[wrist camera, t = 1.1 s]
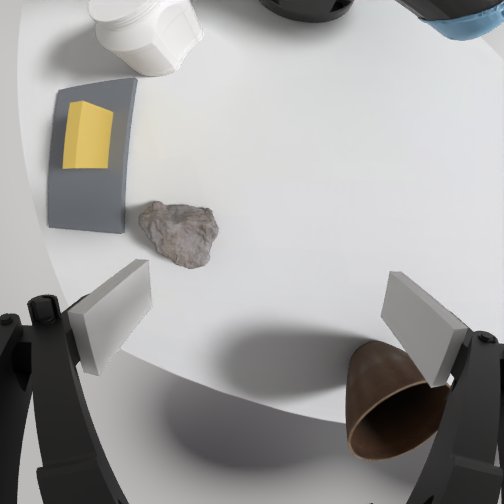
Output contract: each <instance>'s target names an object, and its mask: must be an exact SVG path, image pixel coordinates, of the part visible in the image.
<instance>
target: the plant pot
mask: <svg viewBox="0 0 504 504" xmlns="http://www.w3.org/2000/svg"><path fill="white" fill-rule="evenodd" d="M450 387H451V386H450V385H449V384H448V383H447V382H446V384H445V385H443V386H438V387H433V388H431V387H430V385H429V384H428V382H427V381H426V379H425V378H424V376H423V375H422V374H421V372H420V371H419V369H418V368H417V366H416V365H415V363H414V362H413V360H412V359H411V358H410V356H409V355H408V353H406V352H404V351H403V350H401V349H399V348H396V347H394V346H392V345H389V344H387V343H384V342H381V341H373V342H369V343H366V344H364V345H362V346H361V347H360V348H359V349H357V350H356V351H355V353H354V354H353V356H352V358H351V360H350V364H349V369H348V376H347V384H346V406H345V408H346V429H347V440H348V447H349V450H350V452H351V453H352V454H353V455H354V456H356V457H358V458H360V459H363V460H368V461H379V460H386V459H391V458H394V457H397V456H400V455H403V454H405V453H407V452H409V451H411V450H413V449H415V448H417V447H418V446H420V445H421V444H423V443H424V442H426V441H427V440H428V439H429V438H431V437H432V436H433V435H434V434H435V433H436V432H437V431H438V428H439V425H440V422H441V419H442V416H443V413H444V410H445V406H446V403H447V400H444V399H445V397H446V395H447V393H448V391H449V389H450Z"/></svg>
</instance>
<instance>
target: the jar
mask: <svg viewBox="0 0 504 504" xmlns="http://www.w3.org/2000/svg"><path fill="white" fill-rule="evenodd" d="M88 13H89V15H90V17H91V18H92V19H93V20H95V21H96V25H95V33H96V37H97V40H98V42H99V43H100V44H101V45H102V46H103V47H104V48H106V49H107V50H109V51H111V52H113V53H114V54H115V55H117V56H118V57H119V58H121V59H122V60H123V61H124V62H126V63H127V64H128V65H129V66H130V67H131V68H132V69H134V70H135V71H136V72H138V73H140V74H142V75H145V76H151V77H158V76H164V75H168V74H171V73H174V72H176V71H177V70H178V69H179V67H180V66H181V64H182V61H183V59H184V57H185V56H186V54H187V53H188V52H189V50H190V49H191V48H192V47H193V46H194V45H196V44H197V43H198V42H200V40H201V39H202V38H203V29H202V26H201V24H200V22H199V20H198V18H197V16H196V14H195V12H194V9H193V7H192V5H191V2H190V0H90V1H89V4H88Z"/></svg>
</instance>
